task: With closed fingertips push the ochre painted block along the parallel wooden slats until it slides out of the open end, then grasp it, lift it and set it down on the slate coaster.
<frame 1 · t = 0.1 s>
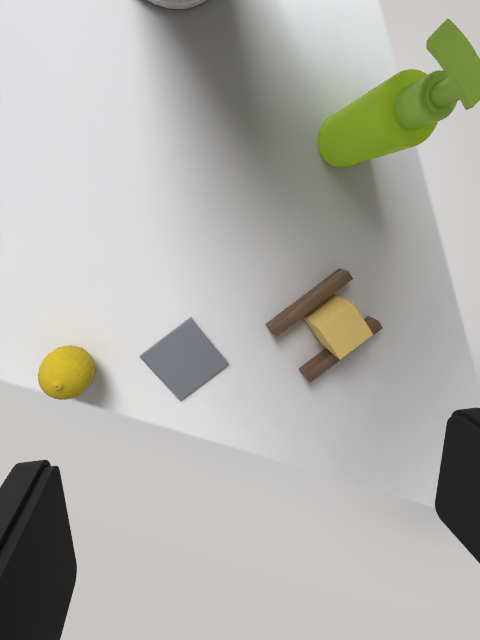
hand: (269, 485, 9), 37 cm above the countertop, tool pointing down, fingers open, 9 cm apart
slate coaster: (185, 359, 47), on the countertop
lemon: (77, 357, 44), on the countertop
soap dispenser: (337, 137, 43), on the countertop
ochre block: (326, 318, 49), on the countertop
parallel wooden slats: (320, 323, 49), on the countertop
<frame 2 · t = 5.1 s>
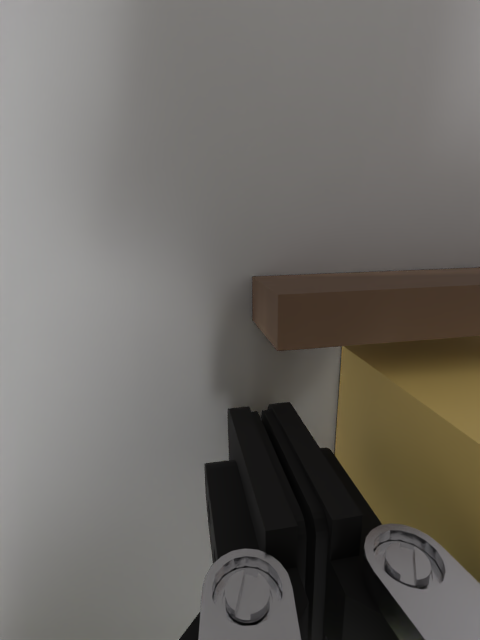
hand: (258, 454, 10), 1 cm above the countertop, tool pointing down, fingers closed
ochre block: (409, 412, 12), on the countertop, touching gripper
parallel wooden slats: (431, 412, 12), on the countertop
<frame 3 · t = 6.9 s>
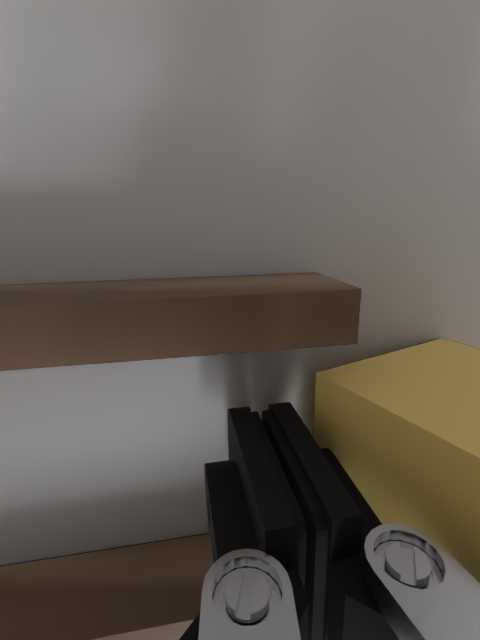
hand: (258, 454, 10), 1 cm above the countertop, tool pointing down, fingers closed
ochre block: (378, 433, 11), point 1 cm above the countertop, tilted 19°, touching gripper
parallel wooden slats: (105, 448, 10), on the countertop
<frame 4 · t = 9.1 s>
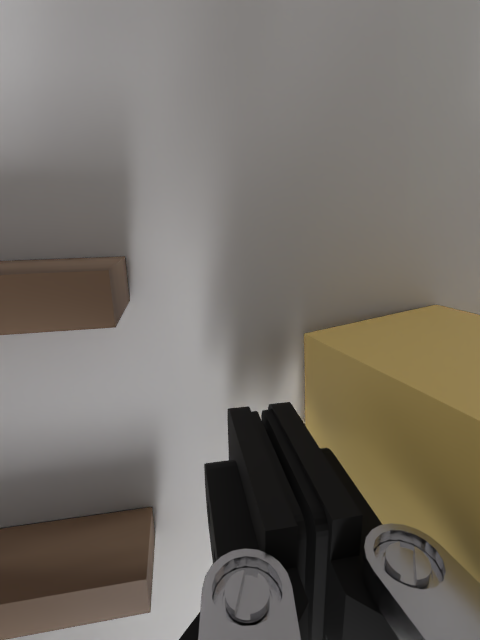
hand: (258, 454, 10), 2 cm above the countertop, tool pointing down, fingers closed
ochre block: (372, 393, 12), point 1 cm above the countertop, tilted 14°
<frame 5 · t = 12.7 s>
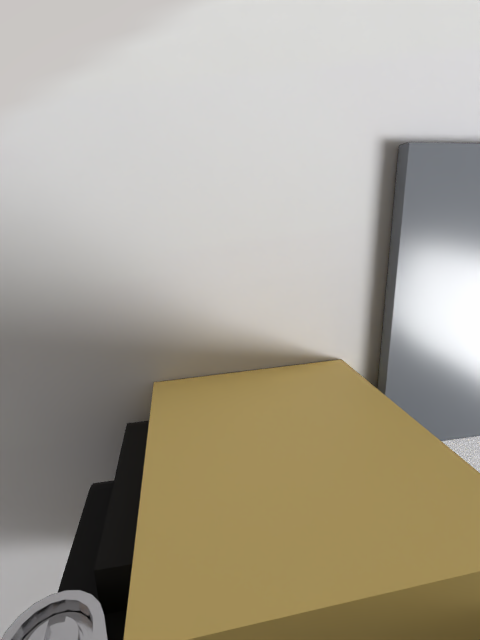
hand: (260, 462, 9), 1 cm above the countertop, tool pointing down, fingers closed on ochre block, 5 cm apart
ochre block: (255, 452, 10), on the countertop, touching gripper
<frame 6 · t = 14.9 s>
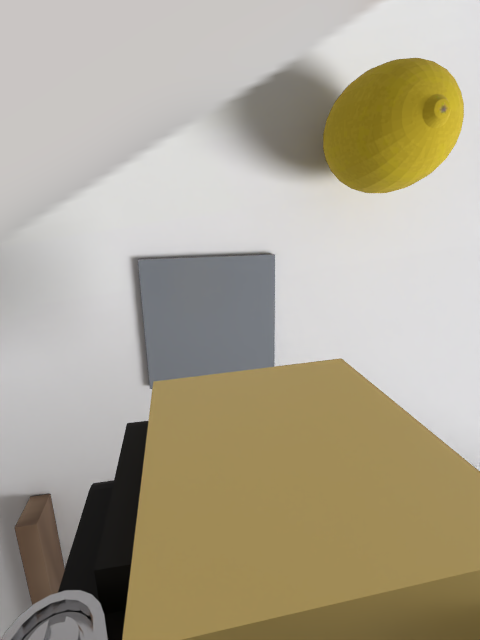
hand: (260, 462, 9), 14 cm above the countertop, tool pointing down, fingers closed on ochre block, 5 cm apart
slate coaster: (210, 321, 23), on the countertop
lemon: (346, 148, 22), on the countertop
ochre block: (255, 452, 10), point 13 cm above the countertop, touching gripper
parallel wooden slats: (116, 556, 26), on the countertop
when the fingers open (3 cm above the countertop, at t = 17.2 s): ochre block drops 2 cm, resting on slate coaster.
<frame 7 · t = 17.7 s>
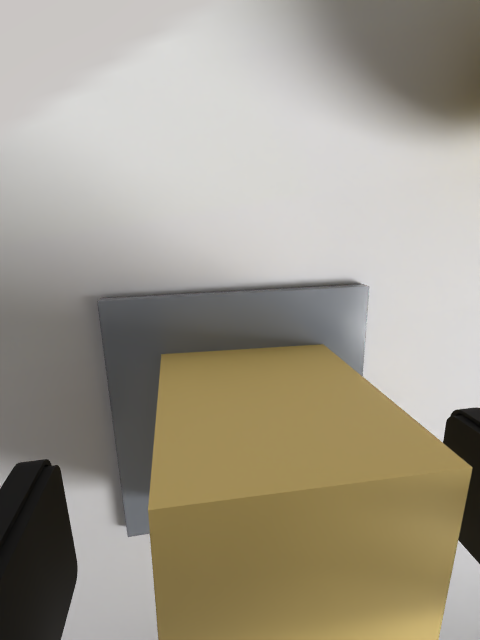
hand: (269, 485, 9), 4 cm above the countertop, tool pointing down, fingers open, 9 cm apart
slate coaster: (241, 409, 12), on the countertop
ochre block: (245, 422, 12), resting on slate coaster
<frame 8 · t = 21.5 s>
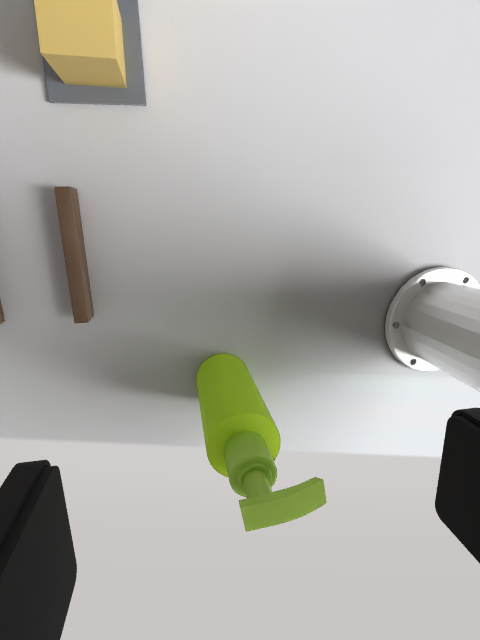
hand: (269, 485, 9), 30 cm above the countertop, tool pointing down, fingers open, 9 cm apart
slate coaster: (93, 51, 31), on the countertop
soap dispenser: (226, 376, 41), on the countertop
ochre block: (93, 52, 30), resting on slate coaster
parallel wooden slats: (32, 257, 34), on the countertop
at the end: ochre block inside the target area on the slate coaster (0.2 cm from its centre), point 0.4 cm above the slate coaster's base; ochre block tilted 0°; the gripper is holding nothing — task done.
